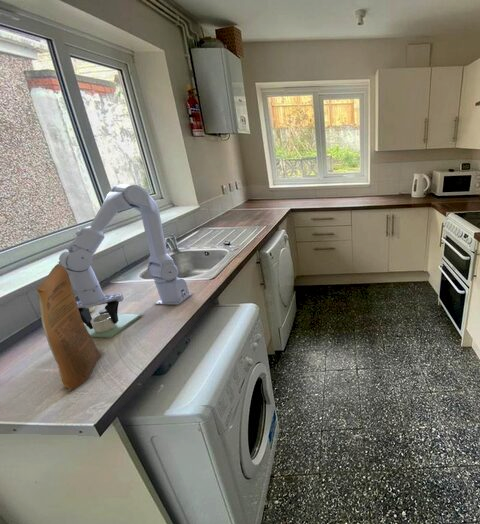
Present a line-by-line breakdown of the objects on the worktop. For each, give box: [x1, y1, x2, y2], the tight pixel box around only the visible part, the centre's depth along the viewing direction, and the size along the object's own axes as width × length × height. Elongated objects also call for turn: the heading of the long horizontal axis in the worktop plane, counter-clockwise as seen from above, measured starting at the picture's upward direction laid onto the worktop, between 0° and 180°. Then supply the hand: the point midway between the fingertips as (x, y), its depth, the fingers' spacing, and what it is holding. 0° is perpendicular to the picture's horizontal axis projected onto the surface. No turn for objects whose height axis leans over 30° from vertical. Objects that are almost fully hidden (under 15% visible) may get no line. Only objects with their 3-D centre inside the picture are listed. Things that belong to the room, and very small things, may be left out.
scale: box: [84, 312, 142, 338], centre depth 96 cm, size 14×12×2 cm
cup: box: [90, 313, 116, 333], centre depth 93 cm, size 6×6×4 cm
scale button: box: [98, 308, 108, 315], centre depth 99 cm, size 3×3×2 cm
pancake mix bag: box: [35, 263, 102, 392], centre depth 72 cm, size 7×19×28 cm, turn 25°
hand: (104, 324), depth 93 cm, fingers closed on cup, 6 cm apart
